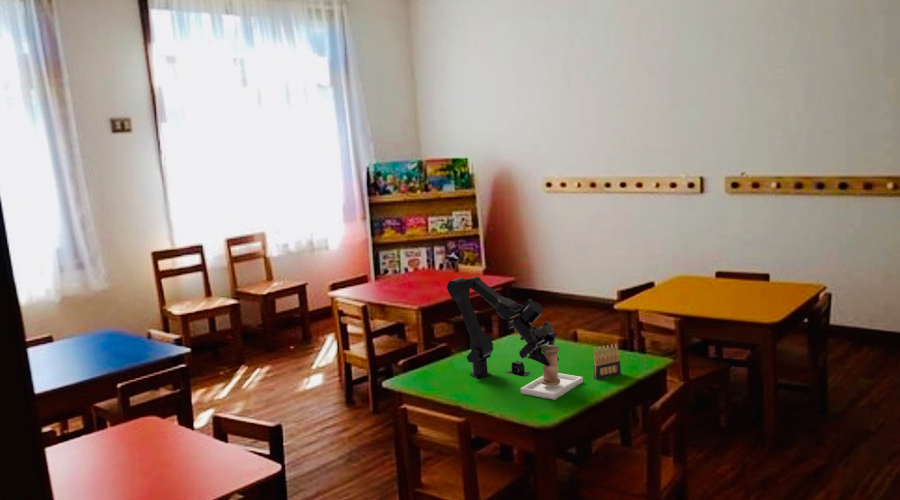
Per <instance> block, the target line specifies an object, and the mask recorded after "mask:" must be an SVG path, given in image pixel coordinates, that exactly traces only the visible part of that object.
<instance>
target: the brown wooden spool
mask: <svg viewBox="0 0 900 500" xmlns="http://www.w3.org/2000/svg"><path fill="white" fill-rule="evenodd" d="M559 351H560V346H558V345H556V344H554V345H544V346H541V352H542V353H543V355H544V356H545V358H546V359H547V360H548V362H549V363H550V366H546V365H544V364H542V368H543V370H542V372H543V373H542V376H543V379H541V383H542V384H544V385H558V384H560V379H559V378H558V373H559V369H558V368H559V365H558V364H559V363H558V362H559V360H558V358H559V357H558V358H557V356H558V353H559Z"/></svg>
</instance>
